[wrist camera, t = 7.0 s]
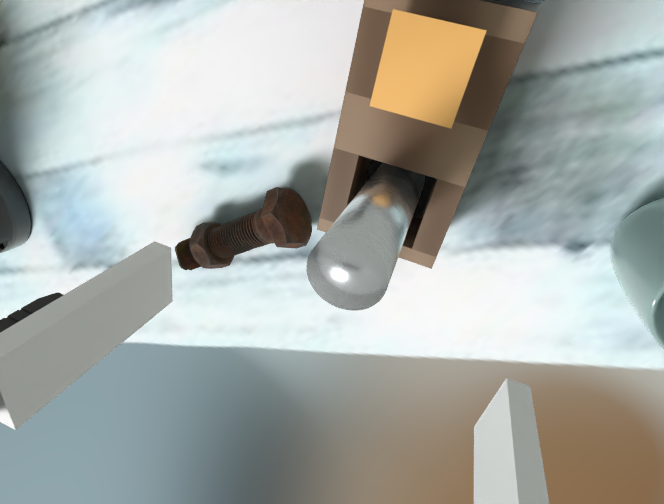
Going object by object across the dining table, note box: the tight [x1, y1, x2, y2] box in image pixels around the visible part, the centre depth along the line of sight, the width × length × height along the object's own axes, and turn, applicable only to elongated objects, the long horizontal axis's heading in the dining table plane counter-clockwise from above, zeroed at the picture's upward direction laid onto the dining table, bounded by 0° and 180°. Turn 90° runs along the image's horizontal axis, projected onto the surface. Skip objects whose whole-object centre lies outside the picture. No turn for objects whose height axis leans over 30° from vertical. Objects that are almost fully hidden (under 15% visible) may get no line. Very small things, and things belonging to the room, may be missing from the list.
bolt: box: [175, 187, 312, 270], centre depth 37 cm, size 6×5×15 cm
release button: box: [370, 9, 487, 128], centre depth 23 cm, size 5×5×7 cm
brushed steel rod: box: [307, 163, 425, 310], centre depth 25 cm, size 4×4×16 cm
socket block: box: [317, 0, 537, 269], centre depth 27 cm, size 9×16×6 cm, turn 168°
